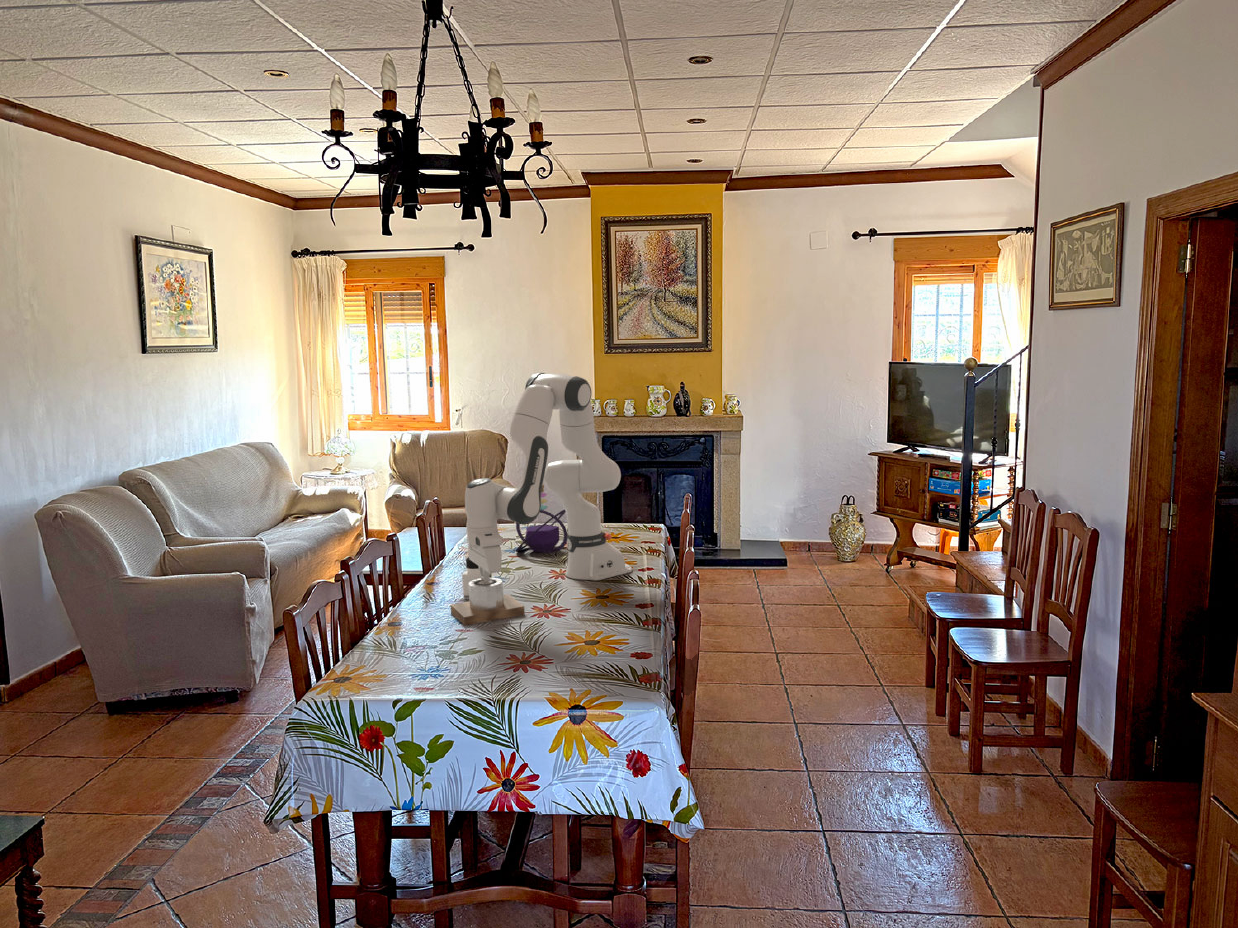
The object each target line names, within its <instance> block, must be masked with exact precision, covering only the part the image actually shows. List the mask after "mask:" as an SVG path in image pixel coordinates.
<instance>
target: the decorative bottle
mask: <svg viewBox="0 0 1238 928" xmlns="http://www.w3.org/2000/svg"><path fill="white" fill-rule="evenodd" d="M544 488H545V484H542V490H541V509H540V512H539V514H544V515H547V516H550V518H549V519H548V520H547V521H546V522H544V523H543V524H538V525H530V526H527V527H526V532H525V535H524V534H522V531H521V528H520V526H521V524H519V523H516V522H515V529H516V532H517V535H518V536H519V539H520V540H521V541H522V542H521V543H520V544H519V546H518V547H517V548H516V549H515V552H516V553H517V552H520V551H522V550H523V549H526V548H527V547H528V548H529V549H531V550H532V551H533V552H535V553H536V552H537V553H545V554H547V553H549V554H550V553H553V554H554V553H556V552H559V551H561V550H562V549H563V548H564V547H565V546H567V534H568V529H566V526H565V525H564V523H563V522H562V521H561V520H560V519H561V518H562V517H563V516H564V515H565V514H566V511H565V509H562V510H561V511H559V512H558V513H556V514H555V515H554V514H553V513H551V512H549V511H547V508H548V505H544V504H546V503H547V502H548V500H547V498H545V497H547V496H548V493H546V492H544ZM552 520H553V522H552ZM550 521H551V524H548V523H549V522H550ZM532 523H533V522H532ZM556 523H558V524H559V526H561V528H562V529H561V530H562V532H563V539H562V542H560V545H558V546H556V545H557V544H558V543H559V541H560V527H559V526H556V525H555V524H556ZM533 524H534V523H533ZM523 535H524V536H523Z"/></svg>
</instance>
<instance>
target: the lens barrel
mask: <svg viewBox="0 0 1238 928" xmlns="http://www.w3.org/2000/svg"><path fill="white" fill-rule="evenodd" d="M490 580H493V581H494V584H492V585H484V586H480V585H477V582H479V581H482V580H481V578H480V579H475V580H473V581H470V582H469V584H468V588H469V596H468V598H469V599H468V601H469V602H470V608H471V609H473V610H479V611H484V610H493V609H497V608H500V607H502V606H503V604H504V596H503V595H504V582H503V580H502V579H501V578H497V577H491V578H490Z"/></svg>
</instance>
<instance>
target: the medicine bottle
mask: <svg viewBox="0 0 1238 928" xmlns="http://www.w3.org/2000/svg"><path fill="white" fill-rule="evenodd" d="M465 564H466V565H465V566H466V571H465V572H463V573H462V574H461V577H462V593H463V596H464V597H469V588H468V584H469V582H470V581H473V580H475V579H480V578H481V574H480V571H479V566H478V565H477V564H475V563H474V562H472V561H471V560H470V559H469V556H468V557H466V559H465ZM490 578H492V573H490Z"/></svg>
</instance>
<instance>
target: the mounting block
mask: <svg viewBox="0 0 1238 928" xmlns="http://www.w3.org/2000/svg"><path fill="white" fill-rule="evenodd" d="M503 596H504V604H503V606H502V607H500V608H497V609H493V610H484V611H479V610H473V609H471V608H470V602H469V600H468V601H463V602H457V603H453V604H450V613H451V614H452V615H453V616H454V617H455V618H456V619H457V620H458V621H459V622H460V623H462V624H463V626H465V627H466V626H470V625H475V624H480V623H481V624H482V623H486V622H493V621H496V620H497V621H498V620H503V619H508V618H513V617H519V616H525V613H526V611H525V606H524V605H523V604H522V603H520V602H519V601H518V600H516V599H515V598H513V597H512V596H511V595H510V594H503Z"/></svg>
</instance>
